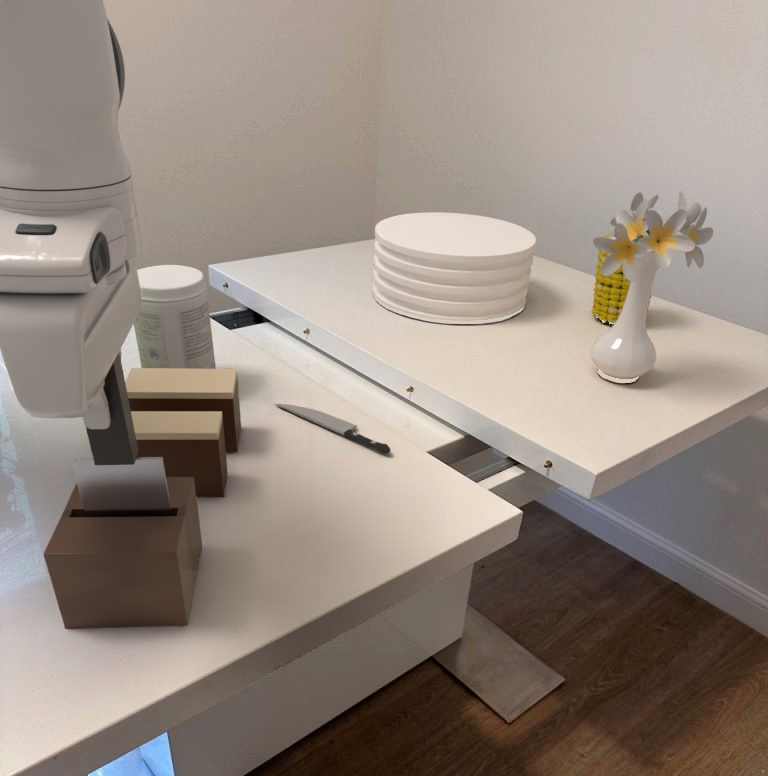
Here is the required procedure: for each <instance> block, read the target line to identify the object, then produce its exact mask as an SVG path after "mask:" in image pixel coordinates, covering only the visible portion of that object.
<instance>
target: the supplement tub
mask: <svg viewBox="0 0 768 776" xmlns="http://www.w3.org/2000/svg"><path fill="white" fill-rule="evenodd" d="M137 273H138V278H139V284H140V290H141V310H140V313H139V314H138V316H137V318H136V320H135V322H134V324H133V327H134V333H135V341H136V344H137V345H136V346H137V350H138V356H139V362H140V368H188V369H217V367H216V366H217V365H216V359H215V351H214V350H215V349H214V341H213V340H214V339H213V331H212V324H211V323H212V322H211V314H210V306H209V297H208V290H207V284H206V283H205V276H204V273H203V272H202V271H201V270H199V269H197V268H195V267H191V266H187V265H179V264H161V265H160V264H159V265H153V266H146V267H143V268H139V269H137Z"/></svg>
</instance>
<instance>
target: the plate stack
mask: <svg viewBox="0 0 768 776" xmlns="http://www.w3.org/2000/svg"><path fill="white" fill-rule="evenodd" d="M374 239H375V241H374V242H373V243H374V244H373V245H374V246H373V247H374V248H373V251H374V256H373V268H374V269H373V273H372V282H373V284H372V295H373V294H374V296H375V297H376V298H377V299H378V300H379V301H380V302H382V303H383V304H385V305H387V306H389V307H391V308H394V309H397V310H400V311H403V312H405V313H409V314H413V315H417V316H420V317H425V318H431V319H440V320H452V321H472V320H473V321H475V320H488V319H494V318H500V317H504V316H507V315H510V314H513V313H515V312H517V311H519V310H520V309H522V308H523V307H524V306H525V307H526V305H525V304H527V295H528V292H529V285H530V284H529V282H530V279H531V275H532V265H533V263H534V257H535V256H534V251H535V249H536V244H537V238H536V236H535V235H534V234H533V233H532V232H531V231H530V230H528V229H527V228H525V227H523V226H520V225H518V224H515V223H512V222H509V221H506V220H502V219H498V218H494V217H488V216H483V215H477V214H468V213H459V212H443V211H442V212H441V211H440V212H439V211H436V212H435V211H434V212H433V211H432V212H427V211H426V212H412V213H404V214H399V215H394V216H390V217H387V218H385V219H382V220H380V221H379V222H377V223H376V224H375V226H374Z"/></svg>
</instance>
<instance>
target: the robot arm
mask: <svg viewBox="0 0 768 776" xmlns="http://www.w3.org/2000/svg"><path fill="white" fill-rule="evenodd" d="M120 45H121V44H120V43H119V40H118V37H117V35H116V32H115V30H114V27H113V26H112V24H111V22H110V20H109V18H108V17H107V11H106V8H105V4H104V0H0V353H1V356H2V359H3V362H4V365H5V368H6V371H7V375H8V377H9V380H10V384H11V386H12V389H13V392H14V394H15V397H16V399H17V401H18V403H19V405H20V406H21V407H22V408H23V410H24V411H26V413H28V414H29V415H30V416H31V417H33V418H37V419H78V418H82V420H83V424H84V426H85V428H86V427H87V428H89V429H107V428H108V427H109V426H110V423H111V421H112V419H113V416H114V415H113V411H112V405H111V399H107V398H106V395H105V392H104V389H103V387H104V385H105V381H104V379H105V377H106V376H107V374H108V372H109V370H110V368H111V366H112V364H113V362H114V360H115V358H116V356H117V355H118V353H120V359H121V360H122V347H123V345H124V343H125V342H126V339H127V338H128V335H129V333H130V331H131V330H132V327H134V322H135V320H136V318H137V316H138V314H139V313H140V310H141V290H140V284H139V278H138V273H137V270H138V267H137V263H136V259H135V256H137V255H138V254H139V253H140V252H141V250H142V248H143V247H142V246H143V245H142V239H141V232H140V225H139V217H138V211H137V204H136V198H135V191H134V184H133V183H134V182H133V176H132V171H131V166H130V163H129V160H128V158H127V155H126V154H125V151H124V148H123V145H122V142H121V139H120V132H119V113H120V112H119V111H120V108H121V106H122V101H123V97H124V92H125V85H126V84H125V83H126V69H125V61H124V57H123V56H124V55H123V51H122V49H121V46H120Z"/></svg>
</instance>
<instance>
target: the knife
mask: <svg viewBox="0 0 768 776" xmlns="http://www.w3.org/2000/svg"><path fill="white" fill-rule="evenodd" d="M104 381H105V385H104V387H103V389H104V392H105V395H106V398H107V399H111V405H112V411H113V415H114V416H113V419H112V421H111V423H110V426H109V427H108V428H107V429H89V428H87V427H86V426H85V430H86V435H87V439H88V442H89V447H90V450H91V455H92V457H90V458H72V459H71V460H70V462H71V465H72V469H73V472H74V476H75V479H76V480H75V481H76V483H77V484H78V488H79V492H80V496H81V500H82V504H83V507H84V511H85V515H86V517H156V516H173V515H172V509H171V503H170V497H169V492H168V486H167V480H166V474H165V469H164V463H163V457H139V458H137V455H138V452H139V451H138V446H137V441H136V435H135V430H134V425H133V420H132V415H131V410H130V405H129V400H128V394H127V389H126V384H125V381H126V379H125V375H124V370H123V364H122V358H121V359H120V353H118V355H117V356H116V358H115V360H114V362H113V364H112V366H111V368H110V370H109V372H108V374H107V376H106V377H105V379H104Z"/></svg>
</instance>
